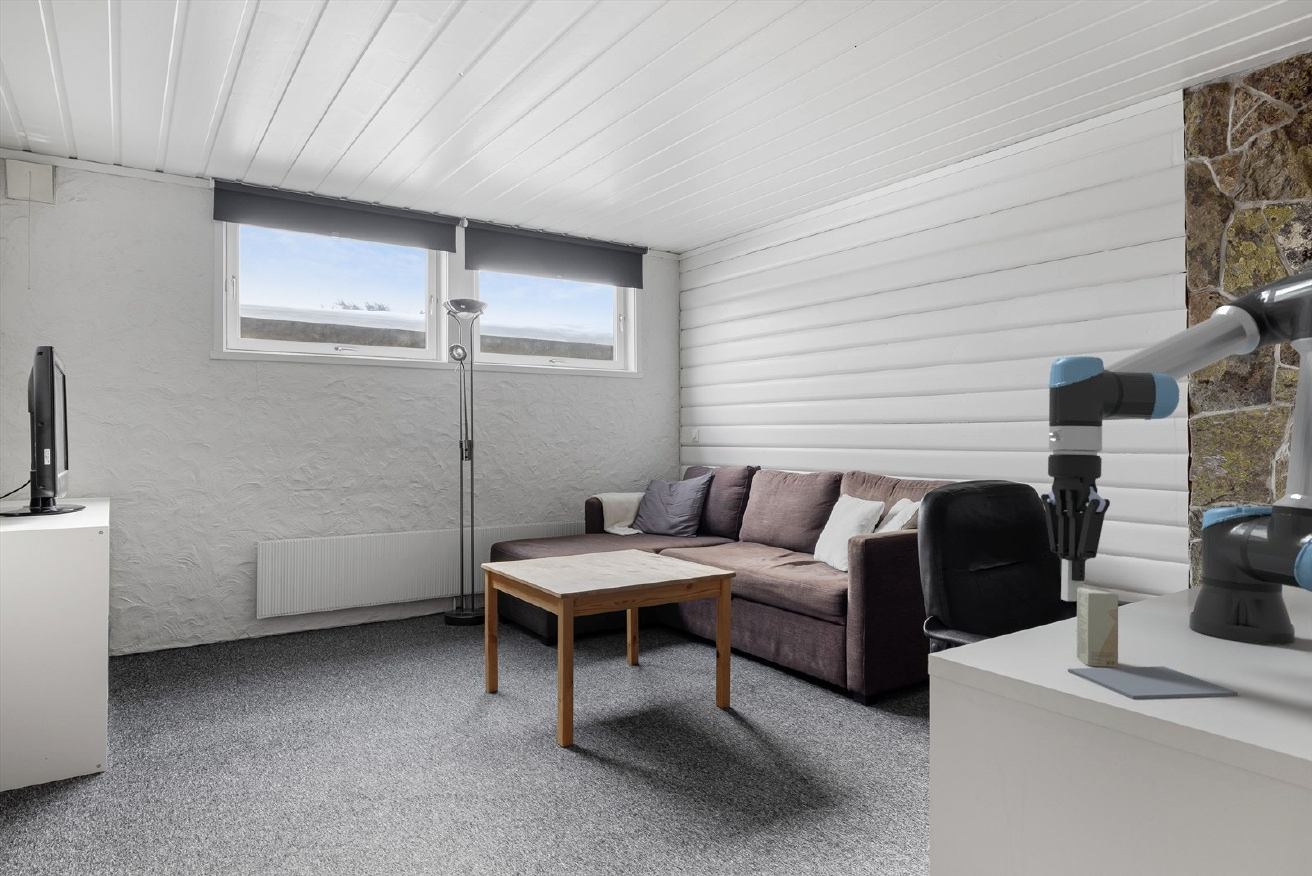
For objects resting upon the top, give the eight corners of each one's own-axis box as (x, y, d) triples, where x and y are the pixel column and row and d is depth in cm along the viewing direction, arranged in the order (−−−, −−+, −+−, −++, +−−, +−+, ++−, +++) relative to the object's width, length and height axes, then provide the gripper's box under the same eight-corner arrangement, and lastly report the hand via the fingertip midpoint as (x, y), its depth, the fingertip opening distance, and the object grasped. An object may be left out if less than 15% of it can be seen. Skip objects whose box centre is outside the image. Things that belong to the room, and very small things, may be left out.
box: (1118, 668, 112) (1120, 594, 112) (1087, 666, 113) (1088, 592, 113) (1105, 659, 117) (1106, 588, 117) (1075, 657, 118) (1076, 586, 118)
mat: (1163, 669, 112) (1163, 666, 112) (1238, 695, 101) (1238, 692, 101) (1068, 671, 110) (1068, 668, 110) (1132, 698, 98) (1132, 695, 98)
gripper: (1027, 452, 127) (1024, 592, 126) (1082, 453, 114) (1079, 609, 114) (1067, 453, 128) (1064, 592, 128) (1126, 454, 115) (1123, 608, 115)
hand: (1071, 600), depth 121 cm, fingers closed
